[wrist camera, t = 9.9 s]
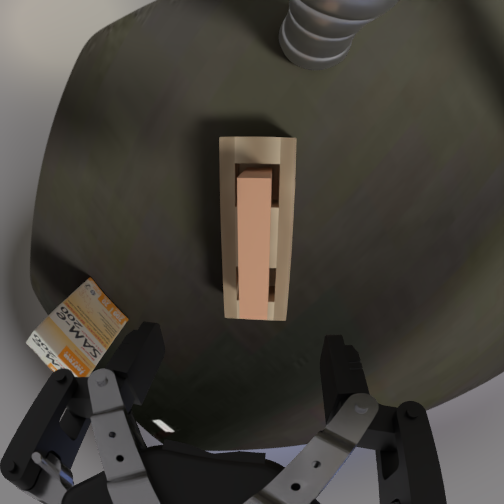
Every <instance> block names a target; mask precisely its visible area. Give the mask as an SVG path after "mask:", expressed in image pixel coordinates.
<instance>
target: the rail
mask: <svg viewBox="0 0 504 504" xmlns="http://www.w3.org/2000/svg"><path fill="white" fill-rule="evenodd" d="M219 161H220V212H221V244H222V269H223V290H224V309H225V318H238V319H240V314H239V272H238V215H237V177H238V176H239V175H240V174H241V173H242V172H243V171H244V170H245V169H246V168H247V167H253V168H272V195H271V225H270V261H269V268H270V272H269V294H268V313H267V320H281V321H286V313H287V301H288V289H289V276H290V263H291V248H292V232H293V214H294V194H295V169H296V138H286V137H219ZM256 320H257V319H256Z"/></svg>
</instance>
